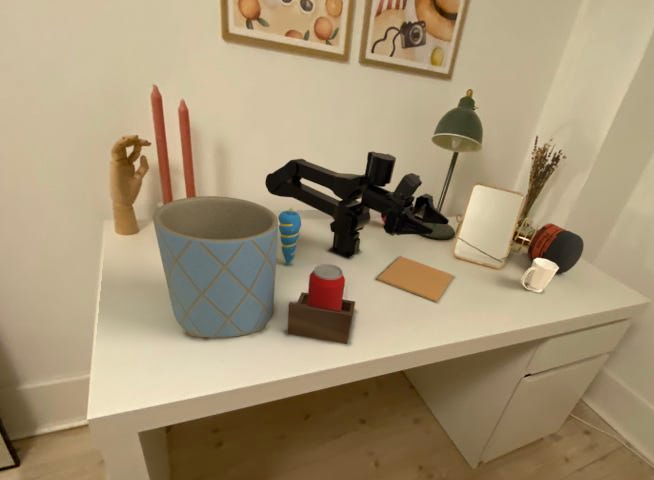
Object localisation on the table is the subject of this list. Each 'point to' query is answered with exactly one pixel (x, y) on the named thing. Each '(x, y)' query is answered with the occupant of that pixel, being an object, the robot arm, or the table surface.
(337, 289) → the beverage can
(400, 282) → the placemat
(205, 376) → the table surface
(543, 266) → the cup
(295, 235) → the ornament
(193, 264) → the planter
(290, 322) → the open wooden box
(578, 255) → the oil filter
